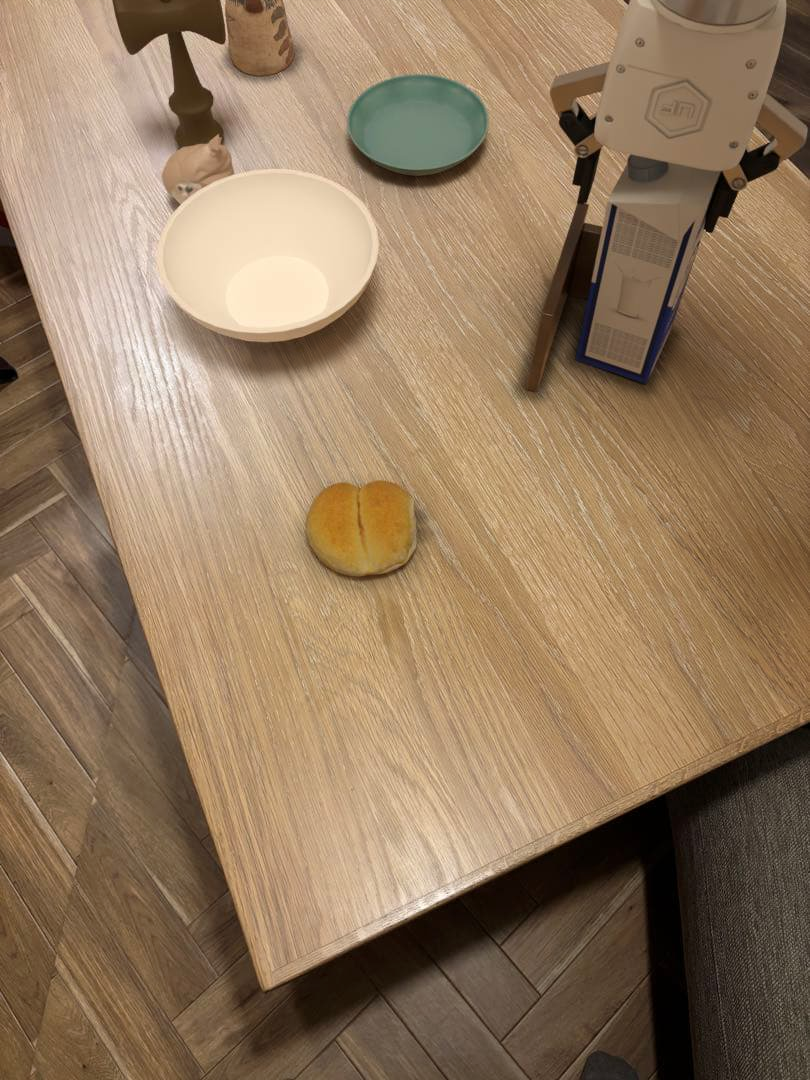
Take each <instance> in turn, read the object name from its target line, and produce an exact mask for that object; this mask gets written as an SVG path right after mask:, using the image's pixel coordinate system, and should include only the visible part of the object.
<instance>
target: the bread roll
mask: <svg viewBox="0 0 810 1080" xmlns="http://www.w3.org/2000/svg"><path fill="white" fill-rule="evenodd" d="M310 505H311V506H310V507H309V509H308V512H307V515H306V518H305V534H306V538H307V541H308V543H309V545H310V547H311V549H312V550H313V553H314V554H315V555H316V556H317V558H318V559H319V560H320V561H321V562H322V563H323V564H324V565H326V567H328V568H329V569H330V570H332V571H334V572H337V573H339V574H342V575H346V576H350V577H365V576H370V575H384V574H388V573H390V572H392V571H395V570H397V569H398V568H399V569H400V567H403V565H405V564H406V563H408V561H409V560H410V559H411V557H412V555H413V554H414V551H416V549H417V532H418V531H417V518H416V509H415V498H413V497H411V496H410V494H408V492H407V491H406V490H405V489H404V488H403V487H401V486H400V485H398V484H396V483H395V482H392V481H387V480H383V479H382V480H378V479H377V480H374V481H372V482H368V483H367V484H365V485H364V486H361V487H359V486H356V485H354V484H352V483H349V482H336V483H333V484H331V485H329V486H327V487H326V488H324V489H323V490H322V491H321V492H319V493H318V494H317V496H316V497H315V498H314V499H313V500H312V503H311V504H310Z"/></svg>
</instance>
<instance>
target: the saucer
mask: <svg viewBox="0 0 810 1080" xmlns="http://www.w3.org/2000/svg"><path fill="white" fill-rule="evenodd" d="M346 118H347V119H346V127H347V132H348V135H349V137H350V139H351V141H352V143H353V144H354V145H355V146H356V148H357V149H358V150H359V151H360V152H361V153H362V154H363V155H364V157H366V158H367V159H369V160H370V161H371V162H373V163H375V164H376V165H378V166H380V167H382V168H384V169H386V170H389V171H391V172H393V173H396V174H399V175H404V176H414V177H415V176H416V177H417V176H429V175H430V176H431V175H434V174H438V173H442V172H444V171H447V170H449V169H451V168H453V167H455V166H457V165H459V164H461V163H462V162H464V161H465V160H467V159H468V158H469V157H471V155H473V153H475V151H477V149H478V148H480V146H481V145H482V143H483V141H484V140H485V138H486V136H487V133H488V131H489V125H490V119H489V113H488V110H487V106H486V105H485V103H484V102H483V100H482V99H481V98H480V96H479V95H478V94H477V93H476V92H475V91H473V90H472V89H471V88H470V87H468V86H467V85H465V84H463V83H461V82H459V81H457V80H454V79H451V78H448V77H445V76H440V75H436V74H426V73H414V74H404V75H398V76H394V77H390V78H387V79H384V80H382V81H379V82H376V83H374V84H373V85H371V86H370V87H368V88H366V89H365V90H364V91H362V92H361V94H359V95H358V96H357V97H356V99H355V100H354V101H353V102H352V104H351V106H350V109H349V110H348V114H347V117H346Z"/></svg>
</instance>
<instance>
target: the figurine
mask: <svg viewBox="0 0 810 1080" xmlns="http://www.w3.org/2000/svg"><path fill="white" fill-rule="evenodd" d="M224 14H225V26H226V31H227V32H226V33H227V40H228V41H227V42H228V49H229V54H230V58H231V61H232V63H233V64H234V66H235V67H236V68H237V69H238V70H240V71H241V72H243V73H245V74H248V75H252V76H257V77H261V76H269V75H271V76H272V75H275V74H278V73H280V72H282V71H284V70H285V69H287V68H288V67H289V66H290V64H291V62H292V61H293V59H294V55H295V54H294V52H295V49H294V42H293V36H292V33H291V30H290V26H289V23H288V21H289V20H288V17H287V13H286V7H285V3H284V1H283V0H225V3H224Z"/></svg>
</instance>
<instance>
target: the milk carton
mask: <svg viewBox="0 0 810 1080" xmlns="http://www.w3.org/2000/svg"><path fill="white" fill-rule="evenodd" d="M626 163H627V164H626V165H625V167H624V169H623V170H622V172H621V174H620V176H619V178H618V180H617V182H616V184H615V185H614V187H613V189H612V191H611V192H610V195H609V196H608V198H607V203H606V207H605V213H604V217H603V222H602V232H601V237H600V242H599V247H598V252H597V257H596V262H595V267H594V271H593V276H592V281H591V286H590V291H589V296H588V299H587V302H586V306H585V307H586V308H585V311H584V316H583V321H582V326H581V331H580V335H579V341H578V344H577V345H578V346H577V350H576V356H575V361H578V362H581V363H582V364H583V363H584V364H586V365H589V366H592V367H595V368H598V369H602V370H603V371H607V372H609V373H613V374H616V375H618V376H622V377H624V378H626V379H627V378H628V379H631V380H633V381H635V382H639V383H641V384H645V385H647V384H648V382H649V380H650V377H651V375H652V374H653V371H654V369H655V366H656V364H657V362H658V360H659V357H660V356H661V354H662V351H663V348H664V346H665V344H666V342H667V340H668V337H669V335H670V333H671V331H672V327H673V325H674V321H675V318H676V317H677V316H676V315H677V312H678V310H679V307H680V304H681V301H682V297H683V294H684V292H685V289H686V287H687V283H688V280H689V277H690V274H691V272H692V268H693V266H694V262H695V259H696V256H697V254H698V251H699V247H700V245H701V241H702V238H703V236H704V233H705V230H704V229H703V228H704V224H705V219H706V215H707V213H708V210H709V207H710V204H711V201H712V199H713V196H714V193H715V190H716V187H717V185H718V182H719V179H720V176H721V173H722V171H709V170H703V169H698V168H692V167H688V166H683V165H678V164H673V163H668V162H663V161H659V160H654V159H649V158H645V157H640V156H635V155H631V154H629V155H628V157H627V162H626Z"/></svg>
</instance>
